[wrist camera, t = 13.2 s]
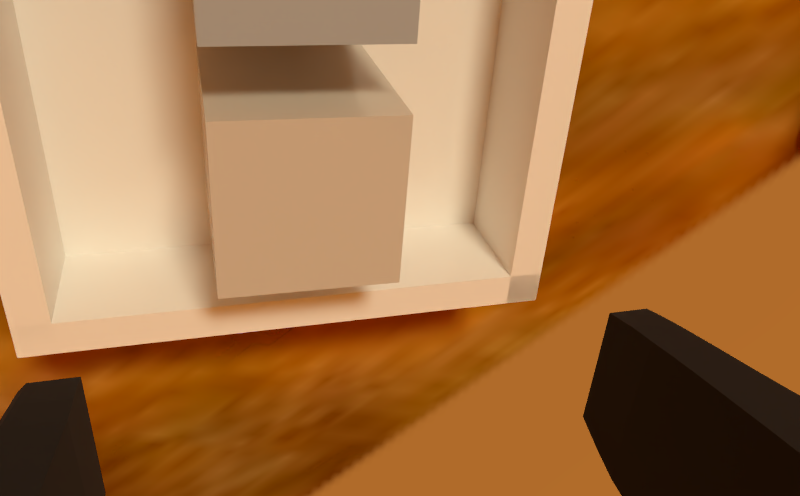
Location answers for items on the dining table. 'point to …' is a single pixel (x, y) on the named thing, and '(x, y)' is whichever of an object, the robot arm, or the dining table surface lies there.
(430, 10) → the pale wooden open box
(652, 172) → the dining table surface
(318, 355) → the dining table surface
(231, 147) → the beige cuboid
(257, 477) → the dining table surface
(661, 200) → the dining table surface
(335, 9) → the grey rectangular prism
